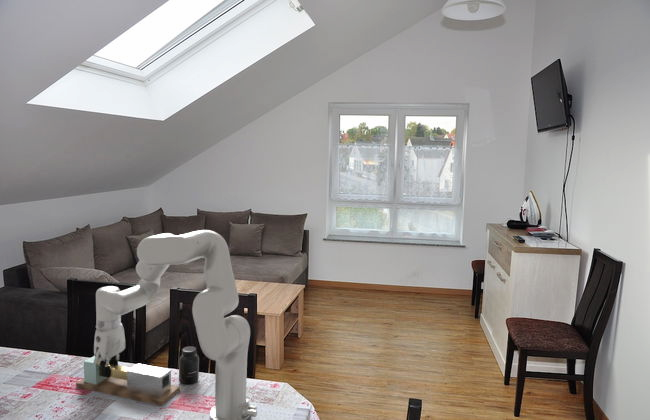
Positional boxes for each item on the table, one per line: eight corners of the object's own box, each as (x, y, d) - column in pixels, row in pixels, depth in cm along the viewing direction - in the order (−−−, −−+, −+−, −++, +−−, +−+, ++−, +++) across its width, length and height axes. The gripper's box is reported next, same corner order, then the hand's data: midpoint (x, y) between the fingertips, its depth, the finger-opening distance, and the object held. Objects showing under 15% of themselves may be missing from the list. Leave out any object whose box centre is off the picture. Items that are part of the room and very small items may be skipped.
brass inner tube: (149, 379, 152) (149, 371, 152) (143, 384, 149) (143, 375, 149) (101, 369, 158) (101, 361, 157) (94, 373, 155) (94, 365, 154)
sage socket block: (111, 375, 159) (111, 355, 158) (96, 384, 152) (95, 363, 152) (99, 372, 161) (99, 352, 160) (84, 382, 154) (83, 361, 153)
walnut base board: (179, 390, 153) (179, 386, 153) (161, 405, 144) (161, 401, 144) (98, 374, 163) (98, 370, 162) (76, 387, 153) (76, 383, 153)
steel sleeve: (170, 388, 152) (170, 369, 151) (160, 396, 146) (160, 377, 146) (138, 382, 155) (138, 363, 154) (127, 389, 150) (126, 370, 149)
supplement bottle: (192, 386, 156) (193, 354, 155) (175, 384, 158) (175, 351, 156) (202, 377, 163) (202, 346, 162) (185, 375, 164) (185, 343, 163)
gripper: (99, 333, 144) (100, 387, 146) (134, 316, 160) (135, 365, 162) (80, 329, 146) (82, 383, 148) (116, 313, 162) (117, 362, 164)
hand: (109, 373), depth 155 cm, fingers closed on brass inner tube, 3 cm apart
